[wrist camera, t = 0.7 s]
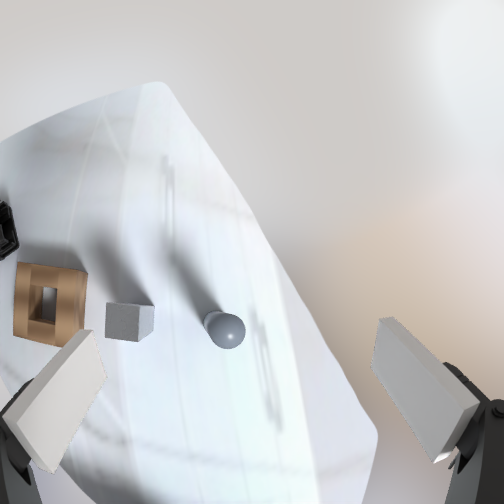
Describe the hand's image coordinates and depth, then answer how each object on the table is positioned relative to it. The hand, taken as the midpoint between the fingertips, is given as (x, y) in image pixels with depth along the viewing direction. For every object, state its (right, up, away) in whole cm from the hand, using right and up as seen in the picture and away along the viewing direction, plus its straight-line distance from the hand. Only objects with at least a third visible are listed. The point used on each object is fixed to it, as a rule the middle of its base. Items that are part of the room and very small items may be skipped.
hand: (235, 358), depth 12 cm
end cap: (-46, +8, +27) cm, 54 cm away
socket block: (-32, -4, +27) cm, 43 cm away
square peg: (-17, -6, +31) cm, 35 cm away
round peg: (-5, -7, +33) cm, 34 cm away
